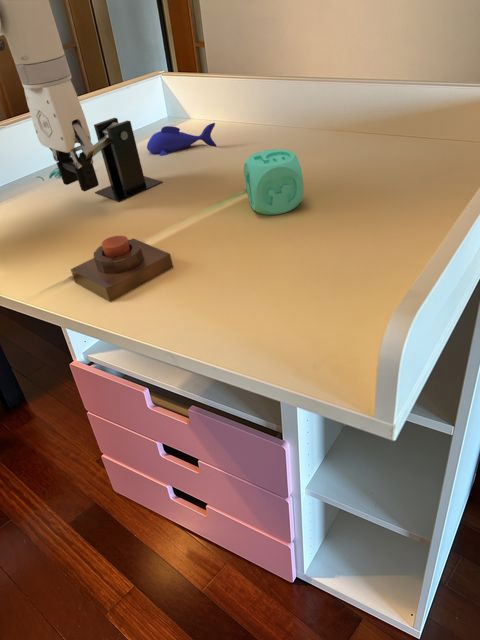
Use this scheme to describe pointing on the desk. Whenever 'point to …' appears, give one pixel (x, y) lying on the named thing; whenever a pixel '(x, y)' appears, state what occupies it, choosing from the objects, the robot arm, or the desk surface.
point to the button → (115, 246)
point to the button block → (121, 270)
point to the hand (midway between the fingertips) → (81, 184)
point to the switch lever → (98, 147)
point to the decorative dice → (273, 181)
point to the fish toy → (177, 140)
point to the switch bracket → (122, 162)
